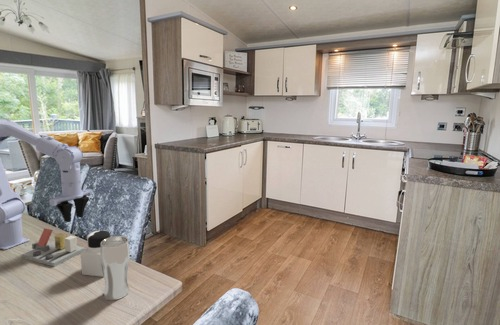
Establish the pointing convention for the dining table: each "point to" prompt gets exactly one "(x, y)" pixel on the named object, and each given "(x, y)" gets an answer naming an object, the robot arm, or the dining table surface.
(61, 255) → the panel
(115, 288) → the beer glass
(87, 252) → the medicine bottle
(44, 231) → the red paddle
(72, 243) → the white slider
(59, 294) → the dining table surface
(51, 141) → the robot arm
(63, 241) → the brass slider
